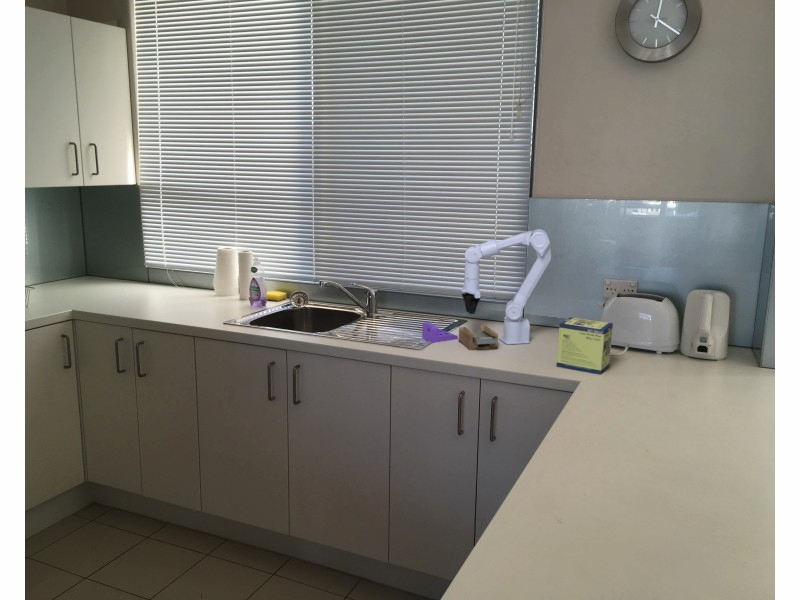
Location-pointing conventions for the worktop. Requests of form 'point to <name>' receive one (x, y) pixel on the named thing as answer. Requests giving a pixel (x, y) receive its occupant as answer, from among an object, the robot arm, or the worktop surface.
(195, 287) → the worktop surface
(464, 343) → the sleeve box
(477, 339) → the cover plate
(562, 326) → the protein box
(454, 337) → the bracket
